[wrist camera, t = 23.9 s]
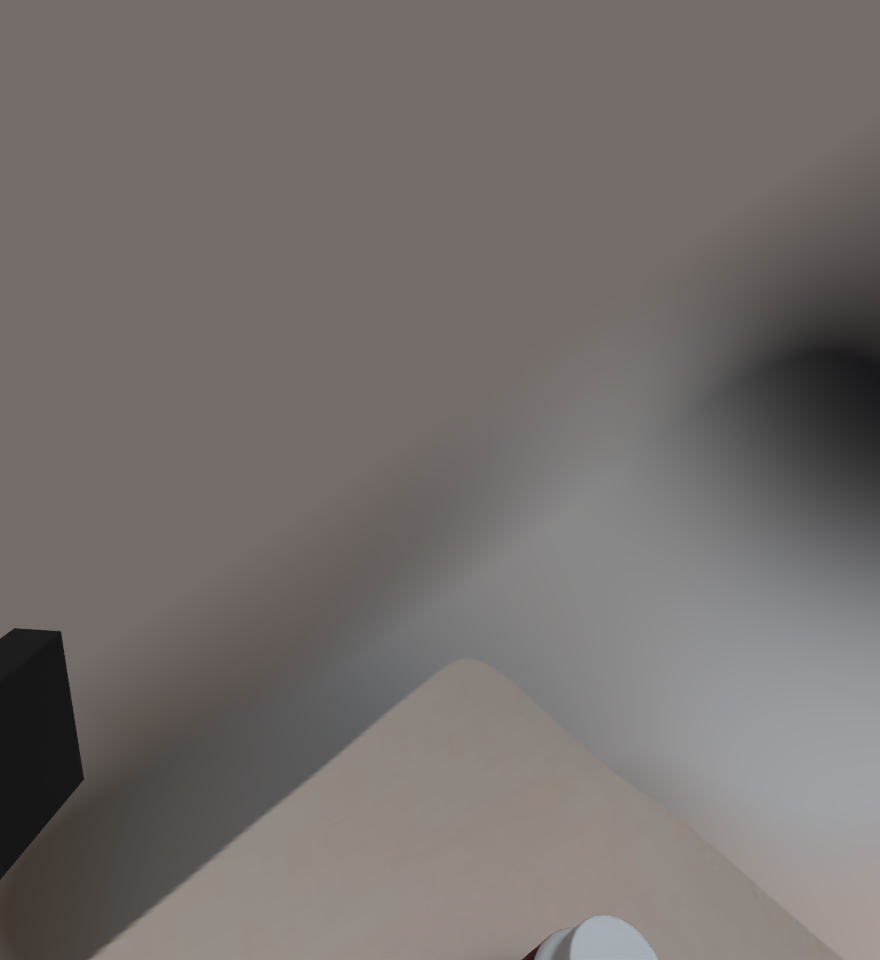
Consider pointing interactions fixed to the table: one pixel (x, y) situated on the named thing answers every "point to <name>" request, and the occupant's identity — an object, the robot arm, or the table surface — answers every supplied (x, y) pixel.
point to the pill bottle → (595, 942)
